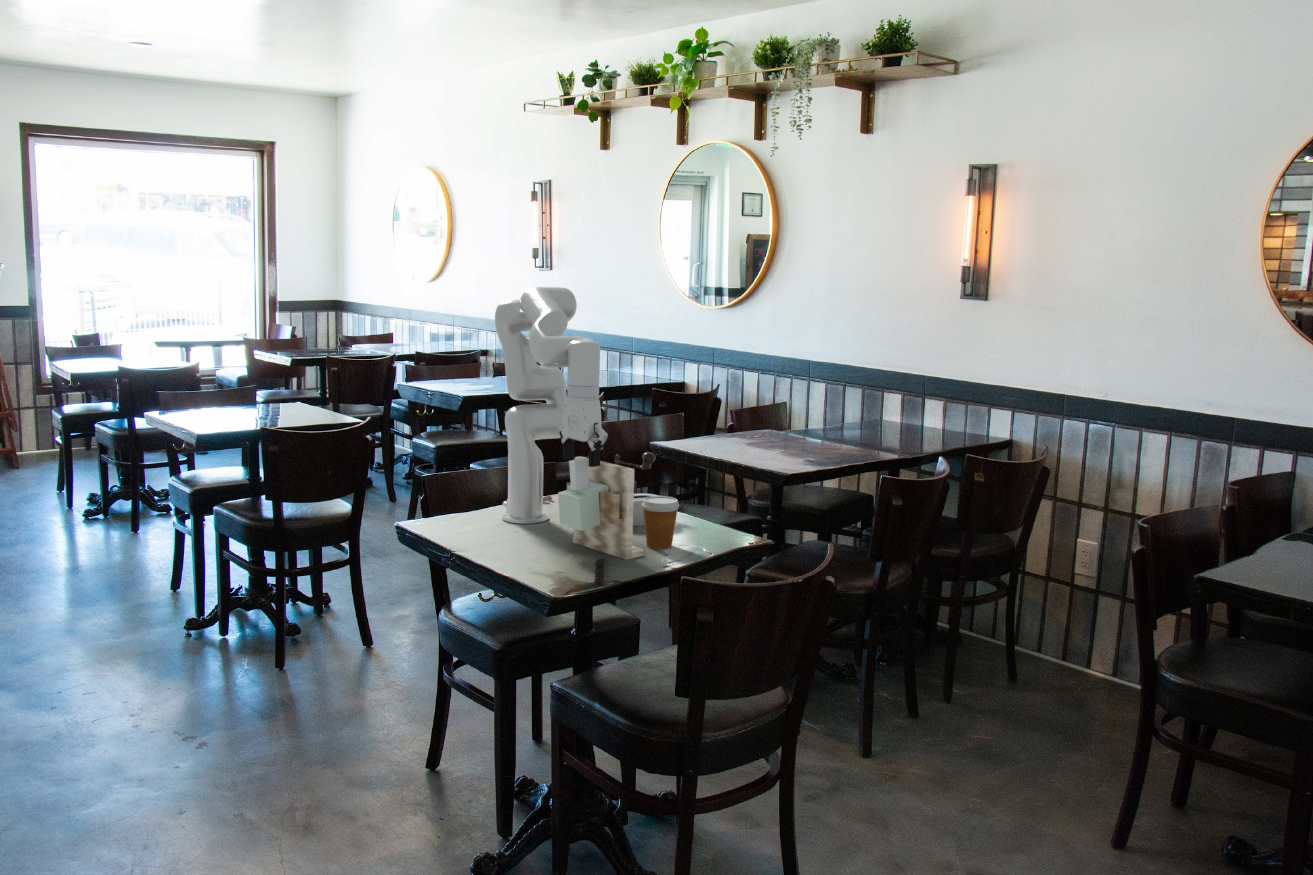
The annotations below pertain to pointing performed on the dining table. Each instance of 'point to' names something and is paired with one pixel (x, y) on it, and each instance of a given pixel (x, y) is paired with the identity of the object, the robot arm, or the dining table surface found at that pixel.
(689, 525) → the dining table surface
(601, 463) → the wall board
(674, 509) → the disposable coffee cup
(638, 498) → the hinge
